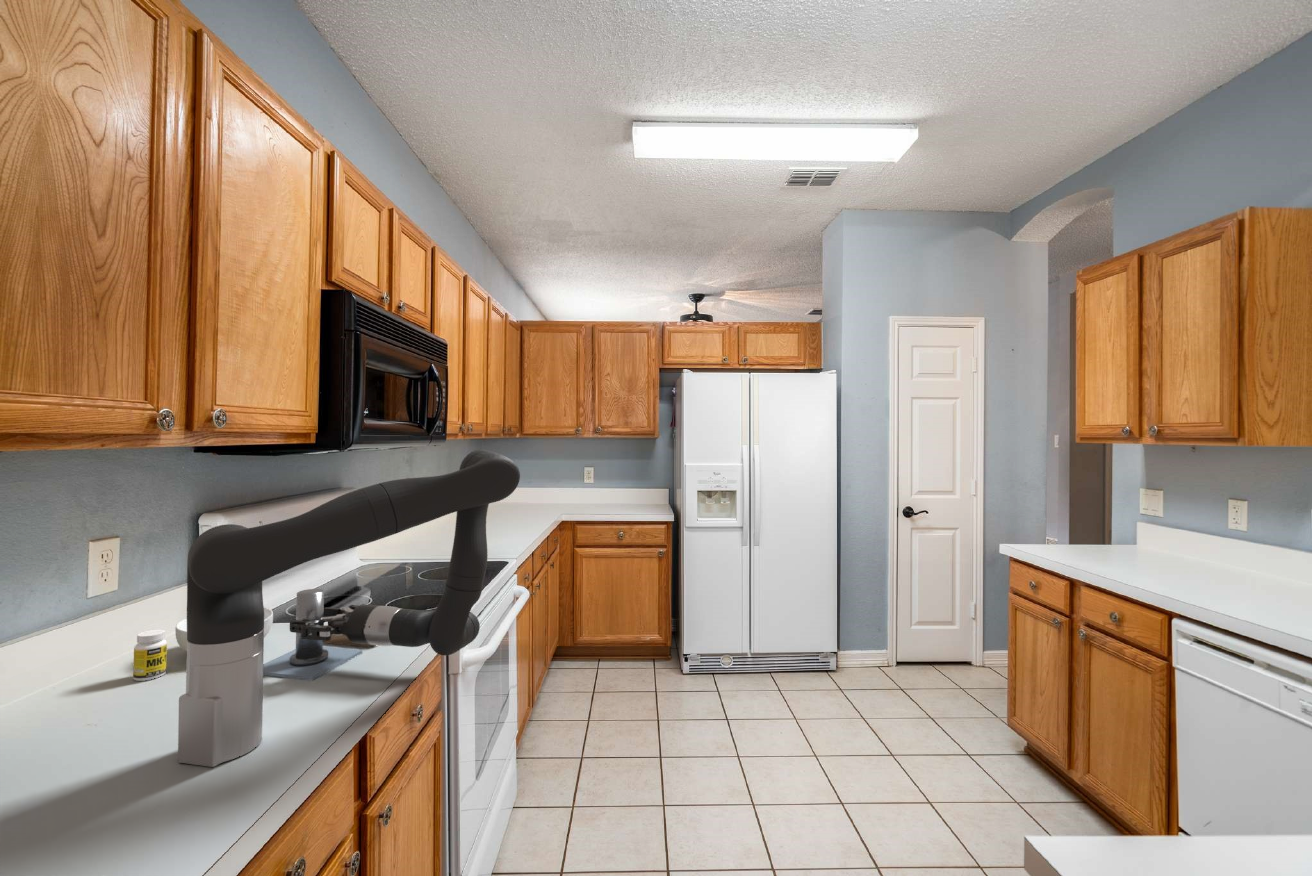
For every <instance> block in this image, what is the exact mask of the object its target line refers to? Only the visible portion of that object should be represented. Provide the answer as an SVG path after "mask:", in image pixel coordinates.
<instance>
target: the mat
mask: <svg viewBox="0 0 1312 876" xmlns="http://www.w3.org/2000/svg"><path fill="white" fill-rule="evenodd" d="M323 649H325V650H327V651H328V659H327V660H325V661H324V662H321V663H319V664H315V665H311V666H303V667H297V666H292V665H290V657H291V656H292V655H293V654H295V653H296V648H295V649H293V650H291V651H288V652H286V653H284V654H282V655H280V656H277V657H276V658H273V659H271V660H269V661H267V662H265V663H263V676H267V675H268V677H275V678H276V677H278V678H288V679H295V680H303V681H304V680H306V681H314V680H316V679H318V678H319V676H320V677H322V676H323V675H325V674H327V673H328V671H329V672H330V670H331V671H332V670H334V669H336V668H337V666H338V667H339V665H340V666H341V665H343V664H346V663H347V662H349V661H350V660H352V659H355V658H356V657H358V656H359V655H361V654H363V650H362V649H352V648H344V647H343V648H342V647H333V646H332V647H331V646H324V645H323ZM357 655H358V656H357ZM355 656H356V657H355ZM351 658H352V659H351ZM348 660H349V661H348ZM335 667H336V668H335Z"/></svg>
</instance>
